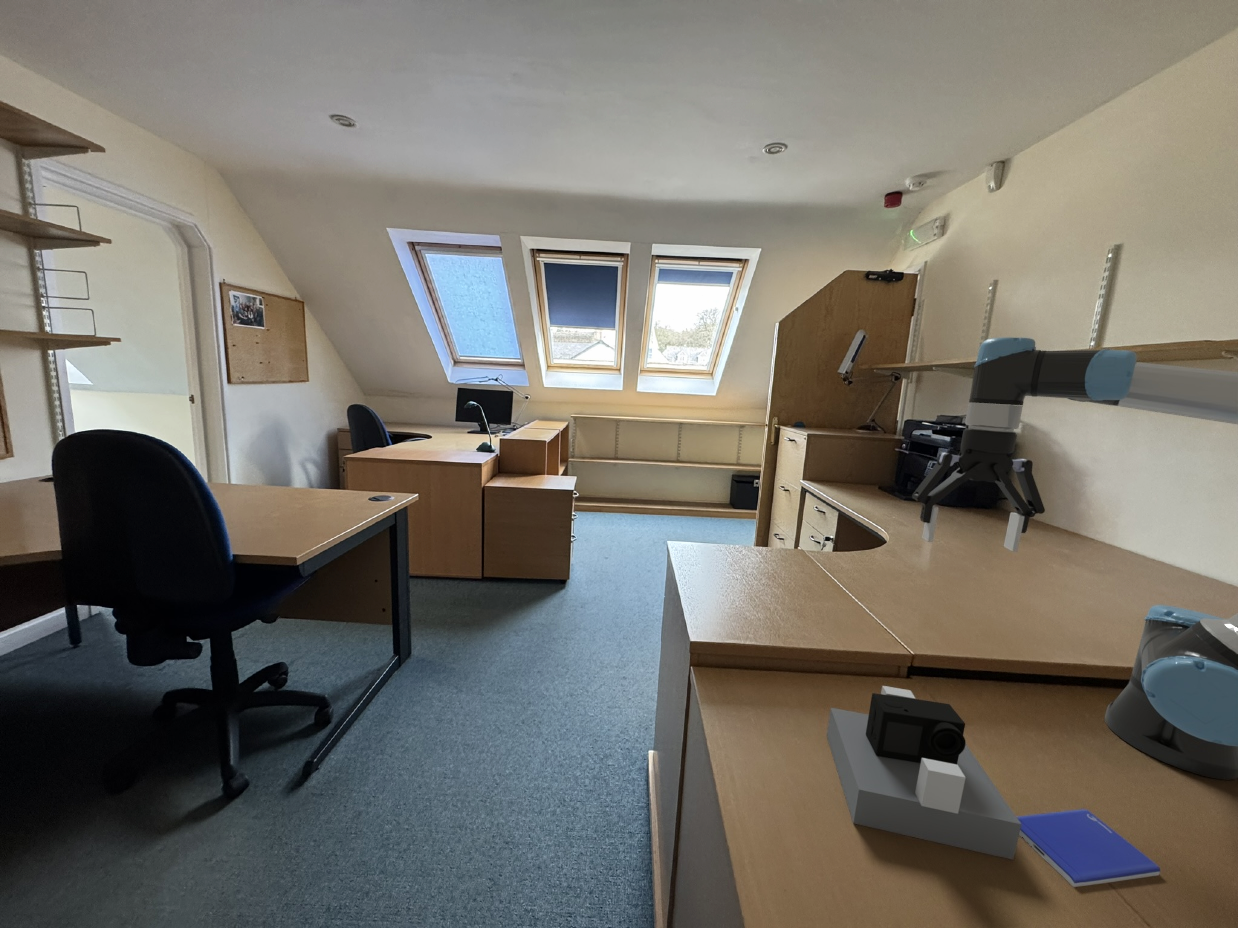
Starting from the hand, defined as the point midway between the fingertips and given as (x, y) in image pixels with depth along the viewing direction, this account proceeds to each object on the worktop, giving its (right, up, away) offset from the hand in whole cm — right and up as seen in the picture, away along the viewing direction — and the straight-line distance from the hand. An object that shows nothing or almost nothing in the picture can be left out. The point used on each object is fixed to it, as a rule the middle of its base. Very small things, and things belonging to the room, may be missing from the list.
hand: (968, 544), depth 87 cm
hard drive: (-6, -34, -27) cm, 44 cm away
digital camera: (-23, -26, -20) cm, 40 cm away
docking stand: (-23, -31, -20) cm, 44 cm away
